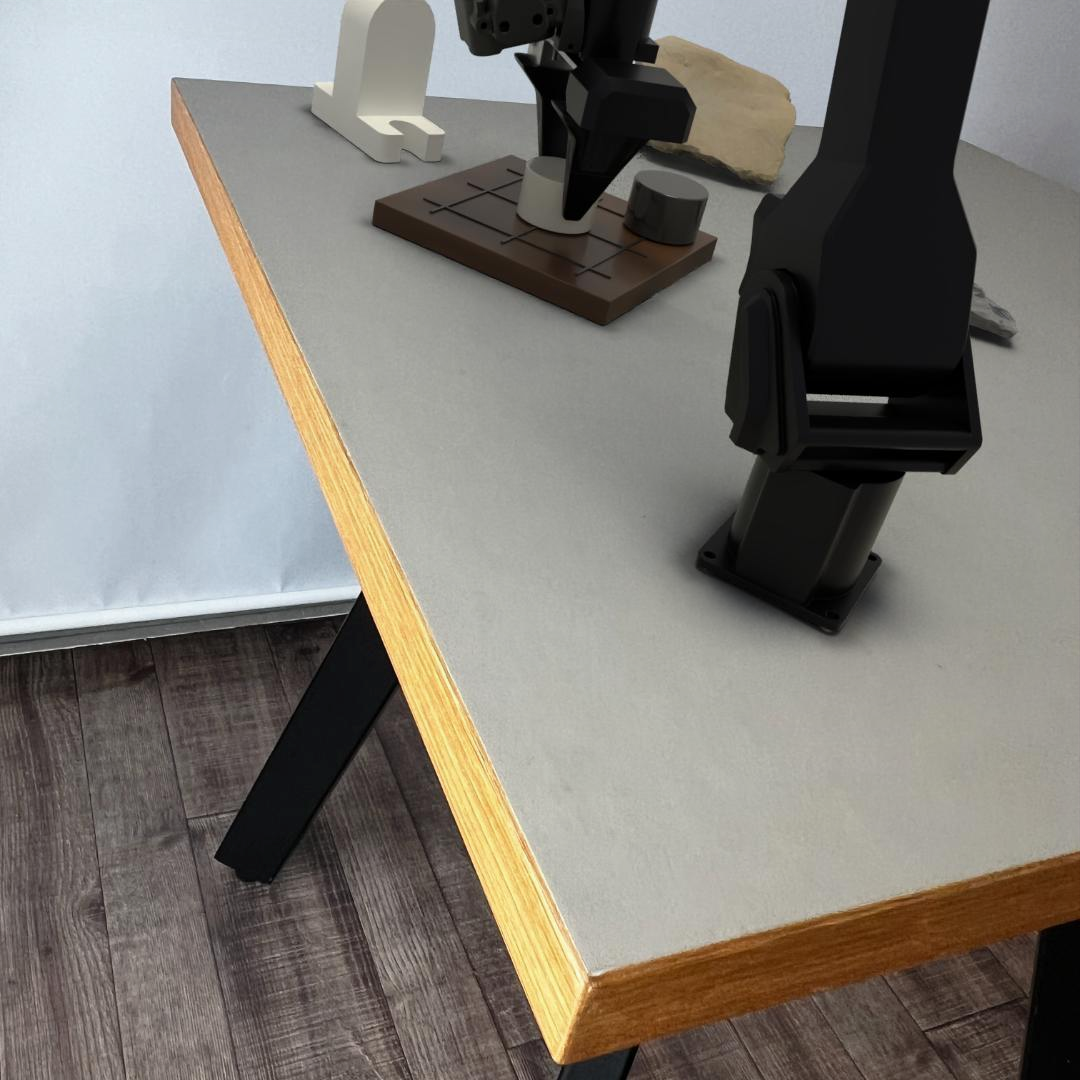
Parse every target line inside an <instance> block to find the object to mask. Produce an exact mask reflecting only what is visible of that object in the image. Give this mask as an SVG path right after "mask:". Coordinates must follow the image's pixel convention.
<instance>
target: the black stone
mask: <svg viewBox="0 0 1080 1080" xmlns="http://www.w3.org/2000/svg"><path fill="white" fill-rule="evenodd" d="M709 197H710V192H709V190H708V189H707V188H706V187H705V186H704V185H702V184H701V183H699V182H697V181H695V180H693V179H691V178H689V177H687V176H684V175H681V174H677V173H674V172H670V171H665V170H658V169H644V170H643V169H642V170H639V171H637V172H636V173H635V174H634V177H633V181H632V184H631V189H630V192H629V196H628V200H627V201H628V203H627V207H626V211H625V215H624V219H623V221H624V224H625V225H626V226H627V227H628V228H629V229H630V230H631V231H633V232H634V233H636V234H638V235H640V236H642V237H645V238H647V239H650V240H653V241H657V242H661V243H666V244H673V245H685V244H690V243H693V242H694V241H695V240H696V237H697V234H698V231H699V230H700V227H701V224H702V221H703V217H704V214H705V210H706V207H707V204H708V200H709Z"/></svg>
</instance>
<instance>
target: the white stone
mask: <svg viewBox="0 0 1080 1080" xmlns="http://www.w3.org/2000/svg"><path fill="white" fill-rule="evenodd" d="M526 161H527V162H526V167H525V171H524V176H523V181H522V185H521V190H520V195H519V200H518V204H517V213H518V215H519V216H520V217H521V218H522V219H524V220H525V221H527V222H528V223H530V224H532V225H535V226H537V227H539V228H542V229H545V230H549V231H553V232H558V233H565V234H580V233H585V232H588V231H589V230H590V229H591V228H592V226H593V222H594V218H595V214H596V210H597V206H598V202H599V198H600V197H599V198H598V199H597V201H596V202H595V203H594V204H593V205H592V207H591V208H590V209H589V210H588V212H587V213H586V214H585V215H584V216H583V218H582V219H581V220H579V221H570V220H565V219H564V218H563V216H562V202H563V187H564V176H565V165H566V159H563V158H558V157H548V156H540V157H539V156H534V157H533V156H532V157H531V158H529V159H527V160H526Z"/></svg>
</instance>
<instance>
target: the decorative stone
mask: <svg viewBox="0 0 1080 1080" xmlns="http://www.w3.org/2000/svg"><path fill="white" fill-rule="evenodd" d="M653 41H655V42H656V43H657V44H658V45H659V50H658V54H657V58H656V62H655V64H651V63H645V62H638V61H634V64H639V65H646V66H652V67H658V68H665V69H666V70H667V71H668V72H669V73H670V74H671V75H672V76H674V77H675V78H676V79H677V80H678V81H679V82H680V83H681V84H682V85H683V86H684V87H686V89H687V91H688V92H689V94H690V96H691V98H692V100H693V101H694V103H695V105H696V107H697V109H696V113H695V116H694V120H693V124H692V127H691V131H690V134H689V138H688V141H687V142H685V143H683V144H677V143H670V142H662V141H655V140H649V141H648V143H647V144H646V145H645V146H650V147H652V148H653V150H654V149H655V150H657V151H660V152H662V153H665V154H672V155H678V156H680V157H681V156H683V157H686V158H693V159H695V160H702V161H705V163H706V164H707V165H711V166H713V167H714V168H718V167H722V168H724V169H728V170H730V171H731V172H732V173H733V174H735V175H737V176H738V177H739V178H740V179H743V180H746V181H747V183H749V184H751V185H759V184H760V185H764V186H772V185H773V184H775V182H776V181H777V179H778V177H779V173H780V170H781V168H782V167H783V165H784V162H785V160H786V151H785V150H786V145H787V143H788V141H789V139H790V137H791V135H792V133H793V131H794V129H795V127H796V122H797V121H796V120H797V109H796V106H795V105H794V104H793V103H792V98H791V92H790V89H788V88H787V87H786V86H785V85H784V84H783V83H782V82H781V81H779V80H778V79H777V78H775V77H773V76H771V75H769V74H768V73H765V72H761V71H760V70H757V69H755V68H752V67H750V66H747V65H746V64H742V63H740V62H737V61H736V60H733V59H732V58H730V57H727V56H726V55H724V54H723V53H721V52H719V51H716V50H713V49H712V48H711V49H710V48H708V47H704V46H702V45H700V44H698V43H695V42H692V41H691V40H690V41H688V40H686V39H684V38H681V37H679V36H676V35H667V36H664V37H661V38H657V39H653Z"/></svg>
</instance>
